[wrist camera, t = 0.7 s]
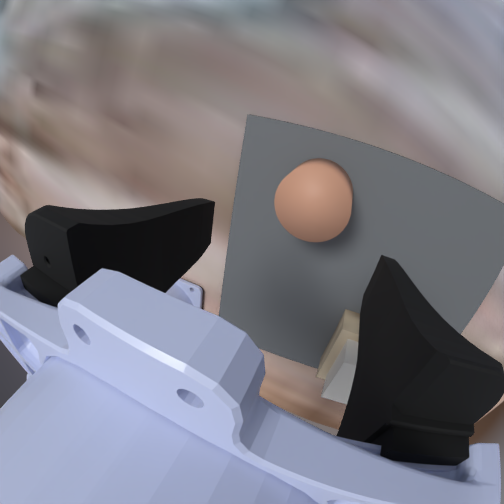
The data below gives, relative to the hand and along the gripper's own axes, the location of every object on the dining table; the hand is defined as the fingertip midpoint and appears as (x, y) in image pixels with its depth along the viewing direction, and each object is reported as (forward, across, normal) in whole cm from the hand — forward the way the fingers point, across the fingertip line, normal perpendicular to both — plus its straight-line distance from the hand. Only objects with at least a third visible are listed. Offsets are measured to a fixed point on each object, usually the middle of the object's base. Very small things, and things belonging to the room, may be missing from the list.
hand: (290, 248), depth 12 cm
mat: (+9, -5, +6) cm, 12 cm away
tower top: (+6, -8, +12) cm, 16 cm away
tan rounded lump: (+9, 0, 0) cm, 9 cm away
